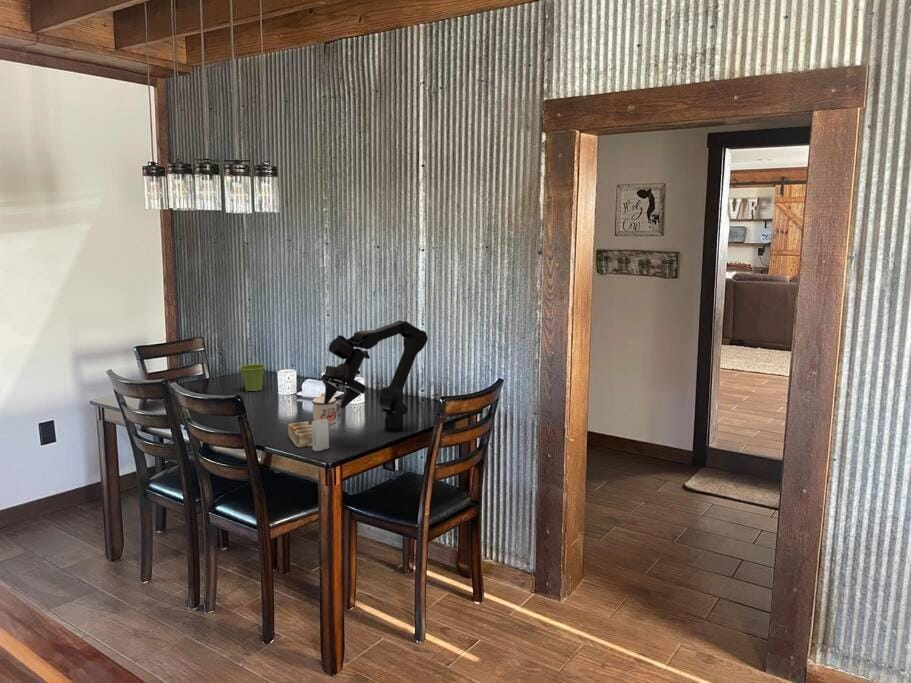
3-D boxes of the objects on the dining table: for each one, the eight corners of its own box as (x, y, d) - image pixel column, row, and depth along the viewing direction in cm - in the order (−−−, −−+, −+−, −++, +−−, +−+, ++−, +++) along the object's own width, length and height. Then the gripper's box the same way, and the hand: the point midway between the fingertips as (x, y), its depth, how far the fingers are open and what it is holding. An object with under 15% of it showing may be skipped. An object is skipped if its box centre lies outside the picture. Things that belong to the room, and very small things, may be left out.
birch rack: (308, 433, 264) (308, 419, 264) (318, 445, 251) (317, 430, 250) (288, 436, 262) (287, 421, 261) (297, 447, 248) (296, 432, 247)
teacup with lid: (321, 427, 273) (319, 397, 271) (308, 422, 279) (307, 393, 277) (347, 421, 281) (346, 392, 279) (335, 416, 287) (334, 388, 285)
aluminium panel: (324, 446, 249) (323, 418, 247) (329, 448, 247) (328, 420, 245) (312, 450, 245) (311, 421, 244) (317, 451, 244) (315, 422, 242)
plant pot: (240, 388, 337) (238, 365, 335) (266, 386, 341) (265, 363, 339) (240, 394, 326) (239, 369, 324) (267, 392, 330) (266, 368, 328)
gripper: (319, 351, 253) (300, 392, 249) (352, 358, 240) (332, 401, 236) (342, 365, 261) (323, 404, 257) (374, 372, 248) (356, 414, 244)
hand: (333, 405), depth 248 cm, fingers open, 9 cm apart
